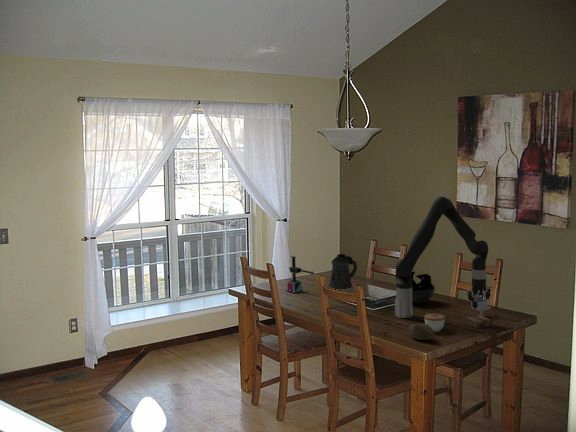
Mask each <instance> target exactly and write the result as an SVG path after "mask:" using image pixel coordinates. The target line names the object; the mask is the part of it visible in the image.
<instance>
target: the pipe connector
mask: <svg viewBox="0 0 576 432" xmlns="http://www.w3.org/2000/svg"><path fill="white" fill-rule="evenodd" d="M471 308H472V307H471ZM472 309H473V310H474V308H472ZM487 311H491V306H488V310H487ZM479 316H483V317H484V310H483V311H479Z"/></svg>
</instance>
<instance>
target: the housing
mask: <svg viewBox="0 0 576 432" xmlns="http://www.w3.org/2000/svg"><path fill="white" fill-rule="evenodd" d="M488 303H489V302H488V300H484V299H483V298H481V296H478V298H477V299H476V309H475V310H476V311H479V312H480V311H483V312H484V311H489V310H488V307H489V306H488ZM470 304H471V305H470V306H471V308H473V307H472V301H470Z"/></svg>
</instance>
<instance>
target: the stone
mask: <svg viewBox="0 0 576 432" xmlns="http://www.w3.org/2000/svg"><path fill="white" fill-rule="evenodd" d="M407 328H408V331H409V334H410V335H411V337H412V338H414V339H416V340H419V341H431V340H433V339H434V338H435V336H436V335H435V332H433V330H432V328H431V327H430V326H429V325H427V324H425V323H412V324H410V325H408V327H407Z"/></svg>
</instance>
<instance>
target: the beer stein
mask: <svg viewBox="0 0 576 432" xmlns="http://www.w3.org/2000/svg"><path fill="white" fill-rule="evenodd" d="M331 265H332V268H331V274H330V279H329V283H328V288H329V287H331V288H335V290H336V289H347V288H351V287H352V286H353V284H352V280H351V279H352V278H353V277H354V276H355V274H356V273H357V271H358V264H357V261H355V260H353V257H351V256H349V255H348V256H347V255H346V254H343V253H338V254H337V255H336V257H334V258H333V259H332V260H331ZM349 265H352V266H353V268H352V271H351V272H350V268H349ZM352 288H353V287H352ZM339 291H340V290H339Z"/></svg>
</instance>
